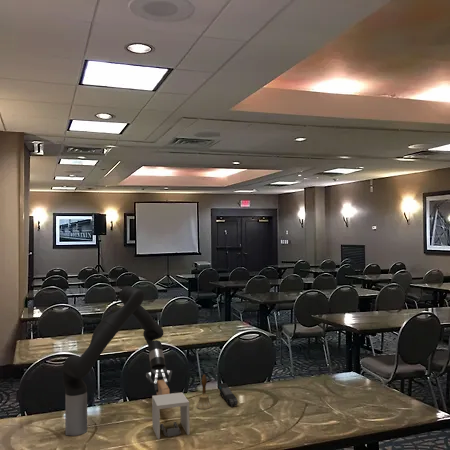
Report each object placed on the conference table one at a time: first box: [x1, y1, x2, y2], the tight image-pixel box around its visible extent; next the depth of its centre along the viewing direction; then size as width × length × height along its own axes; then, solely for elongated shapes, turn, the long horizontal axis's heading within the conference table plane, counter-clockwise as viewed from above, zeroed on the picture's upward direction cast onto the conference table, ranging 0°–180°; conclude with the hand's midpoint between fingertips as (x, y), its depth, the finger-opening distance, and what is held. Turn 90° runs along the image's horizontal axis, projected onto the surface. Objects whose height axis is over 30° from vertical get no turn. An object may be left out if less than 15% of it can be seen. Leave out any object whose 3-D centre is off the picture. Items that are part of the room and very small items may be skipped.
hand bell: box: [195, 374, 213, 410], centre depth 244 cm, size 8×8×16 cm
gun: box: [217, 382, 238, 408], centre depth 251 cm, size 4×20×10 cm, turn 19°
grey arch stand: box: [151, 392, 191, 440], centre depth 213 cm, size 14×14×14 cm
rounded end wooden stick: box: [155, 379, 170, 395], centre depth 232 cm, size 18×4×8 cm, turn 17°
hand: (161, 390), depth 235 cm, fingers closed on rounded end wooden stick, 3 cm apart
